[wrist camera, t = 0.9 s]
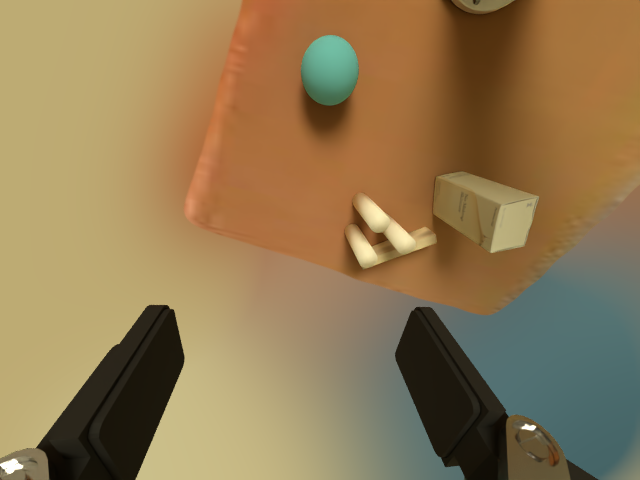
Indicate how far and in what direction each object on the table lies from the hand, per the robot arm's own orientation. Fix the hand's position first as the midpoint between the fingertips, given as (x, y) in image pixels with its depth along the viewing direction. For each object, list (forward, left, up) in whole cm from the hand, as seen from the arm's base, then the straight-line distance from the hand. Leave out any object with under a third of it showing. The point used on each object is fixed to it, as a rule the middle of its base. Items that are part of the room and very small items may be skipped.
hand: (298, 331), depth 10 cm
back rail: (-11, +15, -26) cm, 32 cm away
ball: (-8, -10, -23) cm, 26 cm away
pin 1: (-6, +11, -26) cm, 29 cm away
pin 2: (-11, +11, -26) cm, 30 cm away
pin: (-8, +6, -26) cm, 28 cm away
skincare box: (-21, +10, -26) cm, 35 cm away
